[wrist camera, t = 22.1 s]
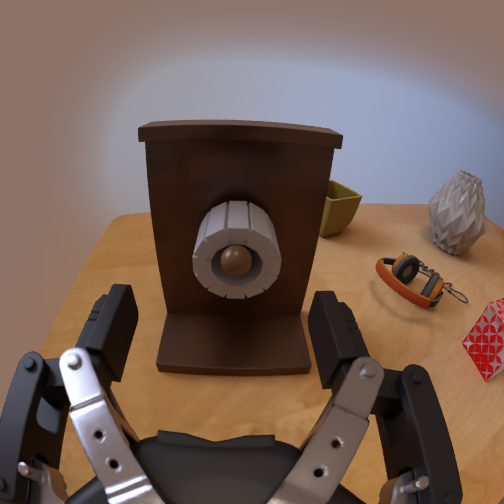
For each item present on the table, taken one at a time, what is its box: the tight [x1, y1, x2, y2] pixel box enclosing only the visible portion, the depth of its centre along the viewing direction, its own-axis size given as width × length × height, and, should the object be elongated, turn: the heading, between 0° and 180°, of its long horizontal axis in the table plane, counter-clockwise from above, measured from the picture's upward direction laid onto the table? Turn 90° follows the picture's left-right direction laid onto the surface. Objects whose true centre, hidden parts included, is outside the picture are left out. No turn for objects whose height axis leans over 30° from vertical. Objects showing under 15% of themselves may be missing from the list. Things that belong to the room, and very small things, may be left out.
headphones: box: [376, 252, 468, 308], centre depth 38 cm, size 17×5×20 cm
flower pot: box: [319, 180, 362, 237], centre depth 52 cm, size 9×9×9 cm
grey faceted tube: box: [192, 201, 281, 299], centre depth 22 cm, size 7×5×7 cm
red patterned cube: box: [462, 298, 504, 382], centre depth 24 cm, size 8×8×8 cm
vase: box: [429, 170, 486, 255], centre depth 48 cm, size 16×16×18 cm
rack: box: [138, 120, 343, 376], centre depth 24 cm, size 16×10×23 cm, turn 93°
